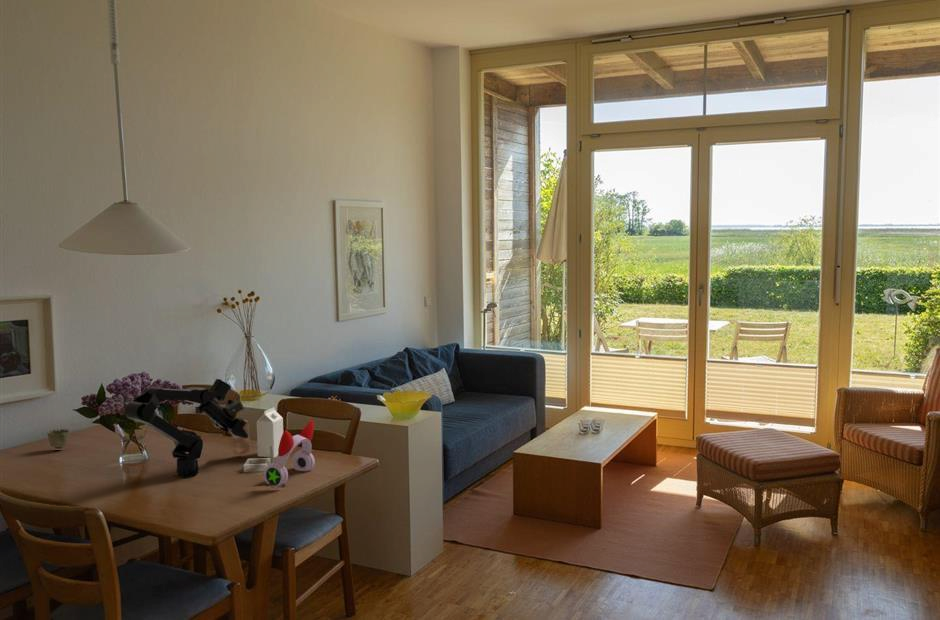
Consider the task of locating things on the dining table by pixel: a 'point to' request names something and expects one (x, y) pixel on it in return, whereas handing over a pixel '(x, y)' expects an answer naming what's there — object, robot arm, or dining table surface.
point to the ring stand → (257, 464)
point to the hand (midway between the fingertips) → (244, 436)
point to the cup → (58, 438)
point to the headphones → (300, 459)
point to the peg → (242, 442)
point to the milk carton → (269, 432)
